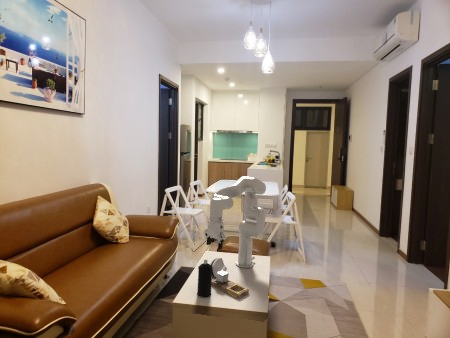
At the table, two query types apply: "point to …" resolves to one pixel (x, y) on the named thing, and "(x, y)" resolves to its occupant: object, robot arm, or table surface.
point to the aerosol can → (204, 280)
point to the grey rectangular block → (222, 277)
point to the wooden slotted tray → (231, 288)
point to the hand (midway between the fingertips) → (214, 246)
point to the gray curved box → (217, 266)
